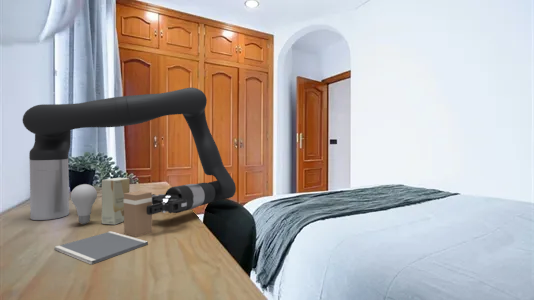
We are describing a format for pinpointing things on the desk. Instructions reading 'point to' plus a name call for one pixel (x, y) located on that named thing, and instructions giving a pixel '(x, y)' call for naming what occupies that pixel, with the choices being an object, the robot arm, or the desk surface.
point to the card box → (137, 213)
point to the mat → (100, 247)
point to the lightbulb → (83, 201)
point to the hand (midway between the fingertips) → (136, 208)
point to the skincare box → (114, 199)
